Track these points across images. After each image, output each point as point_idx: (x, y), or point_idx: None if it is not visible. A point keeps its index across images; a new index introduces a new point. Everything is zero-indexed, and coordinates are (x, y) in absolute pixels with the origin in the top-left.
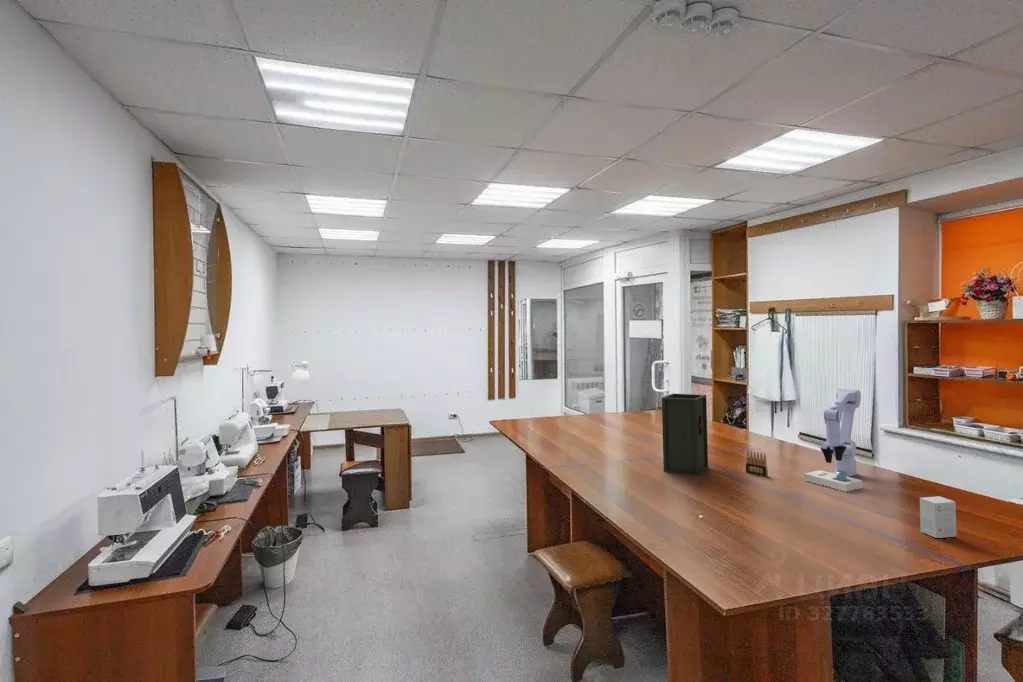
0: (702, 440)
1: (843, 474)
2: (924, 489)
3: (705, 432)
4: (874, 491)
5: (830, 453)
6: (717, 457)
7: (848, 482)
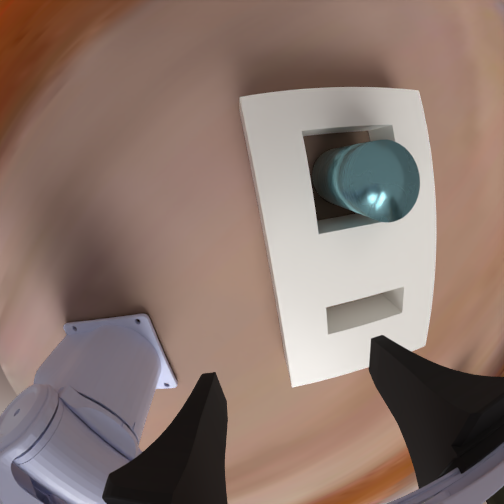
0: None
1: (396, 146)
2: (11, 59)
3: (492, 496)
4: (230, 42)
5: (474, 376)
6: (362, 499)
7: (376, 104)
